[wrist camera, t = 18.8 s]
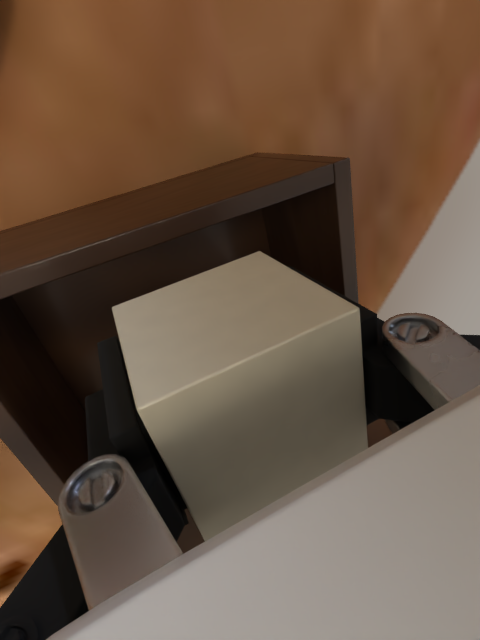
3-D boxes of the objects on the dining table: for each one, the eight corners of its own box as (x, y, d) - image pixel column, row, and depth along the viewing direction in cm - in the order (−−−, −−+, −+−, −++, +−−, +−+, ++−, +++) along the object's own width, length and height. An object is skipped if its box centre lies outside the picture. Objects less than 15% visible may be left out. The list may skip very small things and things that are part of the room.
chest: (-36, 242, 18) (-109, 309, 11) (257, 152, 22) (350, 157, 15) (80, 421, 25) (84, 538, 17) (289, 328, 29) (364, 392, 21)
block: (110, 306, 10) (135, 409, 6) (259, 249, 11) (360, 307, 7) (165, 422, 12) (208, 549, 8) (283, 366, 13) (369, 456, 9)
